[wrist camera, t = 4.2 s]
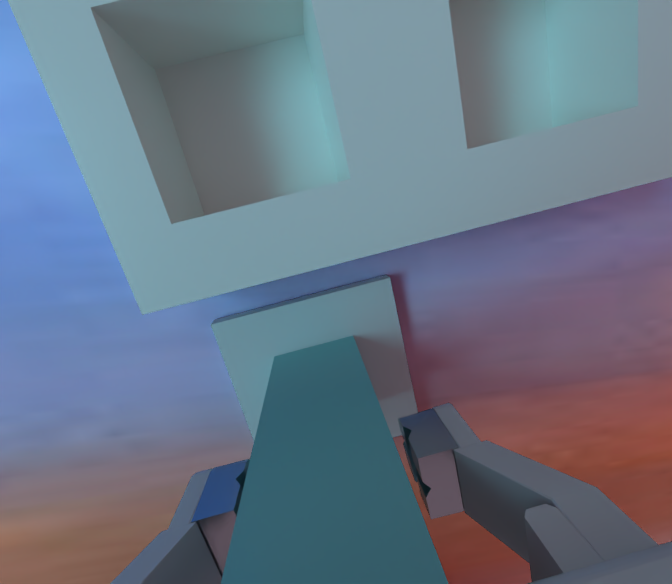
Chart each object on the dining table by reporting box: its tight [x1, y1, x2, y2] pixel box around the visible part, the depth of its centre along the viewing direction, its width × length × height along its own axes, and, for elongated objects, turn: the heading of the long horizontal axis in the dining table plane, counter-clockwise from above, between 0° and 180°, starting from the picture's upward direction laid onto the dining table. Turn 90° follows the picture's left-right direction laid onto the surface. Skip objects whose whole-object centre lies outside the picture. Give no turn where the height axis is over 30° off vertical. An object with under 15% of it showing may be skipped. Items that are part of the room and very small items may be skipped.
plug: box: [221, 336, 448, 584], centre depth 8 cm, size 3×3×10 cm
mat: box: [211, 275, 418, 441], centre depth 13 cm, size 7×7×1 cm
